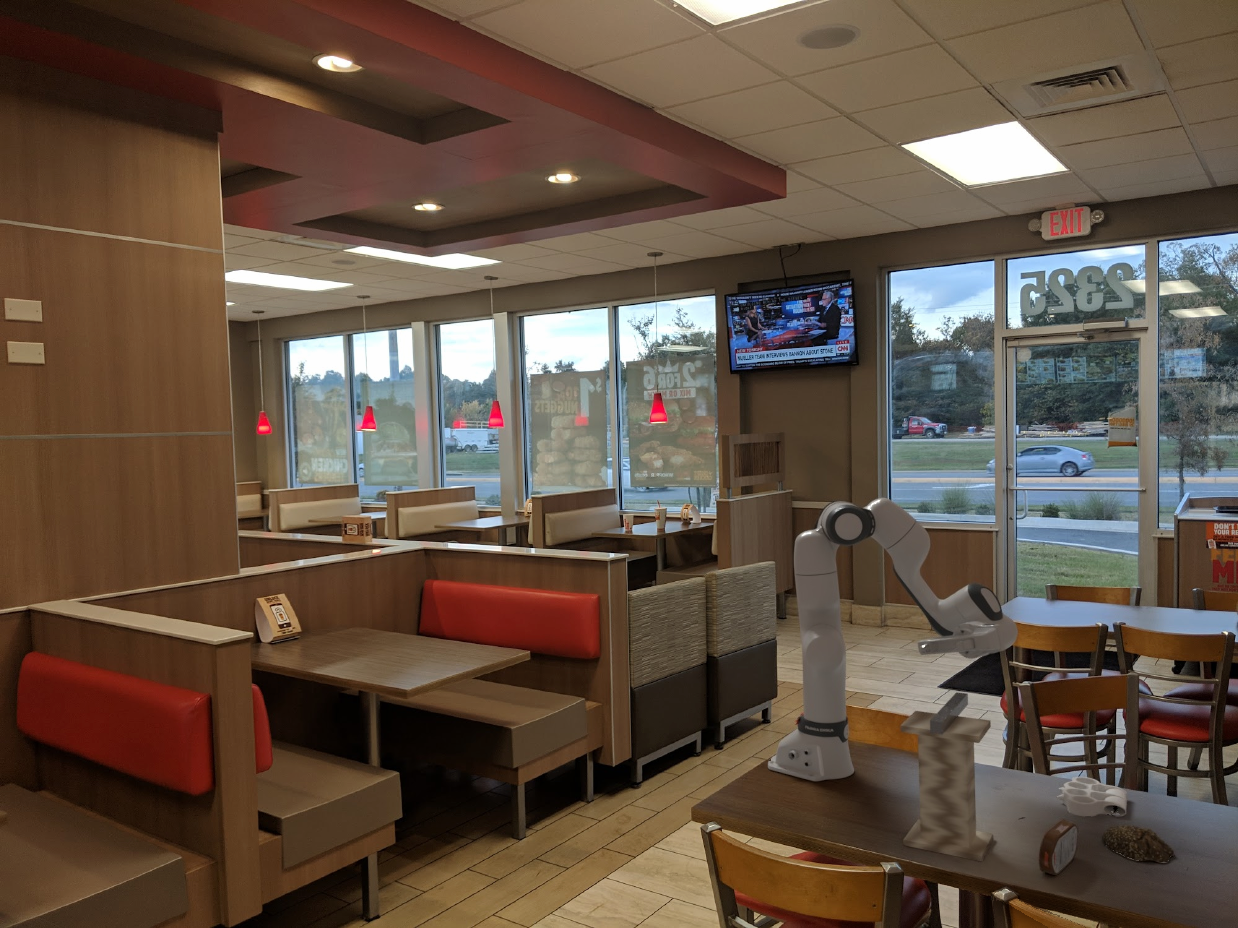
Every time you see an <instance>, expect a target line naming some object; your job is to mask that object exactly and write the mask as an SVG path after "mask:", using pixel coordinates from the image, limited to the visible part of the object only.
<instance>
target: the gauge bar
mask: <svg viewBox="0 0 1238 928" xmlns="http://www.w3.org/2000/svg"><path fill="white" fill-rule="evenodd" d="M968 705H969V694H968V693H964V692H955V693H954V694H953V695H952V696H951V698H950V699H948V701H947V702H946V703H945V704H944V705H943V706H942V707H941V708H940V709H939V710H938V712H936V713H937V714H936V715H935V716H934V717H933V718H932V719H931V720H930V733H936V734H943V733H944V732H945V731H946V730H947V729H948V727H949V726H950V725H951V724H952V723H953V722H954V720H955V719H956V718H957V717H958V716H960V714H961V713H962V712H963V711H964V710H965V708H967V706H968Z"/></svg>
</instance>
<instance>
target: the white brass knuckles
mask: <svg viewBox="0 0 1238 928" xmlns="http://www.w3.org/2000/svg"><path fill="white" fill-rule="evenodd" d="M1058 790H1059V791H1060V792H1062V793H1061V794H1060V795H1057V796H1056V798H1057V799H1059V800H1060V801H1062V803H1063V804H1064V806H1066V807H1067V812H1068V811H1069V813H1070V814H1072V815H1075V816H1079V817H1085V816H1091V817H1095V816H1098V815H1107V814H1109V816H1112V815H1111V814H1114V812H1113V813H1112V812H1111V811H1115V809H1113V808H1115V806H1117V807H1116V808H1118V809H1116V811H1117V810H1118V812H1117V813H1119V814H1120V815H1117V816H1116V817H1123V816H1125V815H1127V806H1128V805H1127V803H1128V792H1127V791H1126V790H1125V789H1122V788H1121V787H1118V786H1114V785H1111V784H1110V785H1109V784H1104V783H1102V782H1100V781H1098V780H1097V779H1094V778H1091V777H1086V776H1074V777H1071V781H1067V782H1065V783H1063V786H1062V787H1058ZM1113 806H1114V807H1113ZM1116 811H1115V813H1116Z"/></svg>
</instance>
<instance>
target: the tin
mask: <svg viewBox="0 0 1238 928" xmlns="http://www.w3.org/2000/svg"><path fill="white" fill-rule="evenodd" d="M1078 834H1079V827H1078V825H1077V824H1076V823H1074V822H1072V821H1069V820H1066V819H1063V818H1062V819H1060V820H1059V821H1057V822H1056V823H1055V824H1053V825H1052V826H1051V827H1050V828H1049V829H1047V830H1046V831H1045V833H1044V835H1043V837H1042V839H1041V843H1040V847H1039V851H1038V852H1039V853H1038V867H1039V869H1040V871H1041V872H1042V873H1047V874H1049V875H1052V876H1058V875H1059V874H1060V873H1061V872H1063V870H1064V869H1066V868H1067V867H1068V866H1069V865H1070V864H1071V863H1072V862H1073V861H1072V860H1074V859H1075V857H1076V854H1077V851H1078V836H1079V835H1078ZM1070 862H1071V863H1070ZM1069 863H1070V864H1069ZM1067 865H1068V866H1067ZM1066 866H1067V867H1066Z"/></svg>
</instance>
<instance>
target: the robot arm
mask: <svg viewBox="0 0 1238 928" xmlns="http://www.w3.org/2000/svg"><path fill="white" fill-rule="evenodd" d="M868 538H871V539H874V541H876V542H877V543H878V544H879V545H880V546H881V547H882V548H883V549H884V550H885V551H886V552H887V553H888V554H889V555H888V556H889V557H891V559H892V571H893V573H894V575H895V577H896V578H897V580H898V581H899V583H900V584H901V586H902V587H903V588H904V589H905V591H906V592H907V593H908V595H909V596H910V597H911V598H912V601H914V603H915V604H916V605H917V606H918V608H919V610H921V612H922V613H923V614H924V616H925V617H926V619H927V621H928V623H929V626H930V627H931V628H932V630H933V631H934V632H935V633H936V635H939V636H936V637H930V638H926V639H925V638H924V639H921V640H918V641H917V650H918V652H919V655H921V656H926V655H927V656H929V655H939V654H952V653H958V654H959V655H961V656H962V657H963V658H966V659H969V660H970V659H971V660H973V659H978V658H981V657H984V656H988V655H990V654H995V653H999V652H1004V651H1005V650H1007V649H1008V648H1010V647H1011V646H1012V645H1014V644H1015V642H1016V641H1017V638H1018V633H1019V632H1018V631H1019V630H1018V627H1017V624H1016V622H1015V621H1014V619H1012V618H1011V617H1010V616H1007V615H1006V614H1005V613H1004V612H1003V609H1002V606H1001V603H1000V601H999V599H998V596H997V595H996V594H995V593H994V591H993V590H992V589H990V588H989V587H987V586H985V585H983V584H982V583H976V582H971V583H969V584H967V585H965V586H963V587H962V588H960V589H959V590H957V591H956V592H954V593H953V594H951V595H949V596H948V597H947V598H945V599H942V598H941V599H940V598H938V597H937V596H936V594H935V593H934V592H933V590H932V589H931V588H930V586H929V585H928V584H927V583H926V580H925V579H924V578H923V576H922V575H921V572H920V571H921V567H922V565H924V562H925V561H926V560H927V556H928V554H929V552H930V550H931V549H930V548H931V539H930V535H929V533H928V531H927V530H926V528H925V527H924V526H923V525H922V524H921V523H920V522H919V521H917V520H916V519H915V518H914V517H913V516H912V515H911V514H910V513H909V512H908V511H906V510H905V509H904V508H902V507H901V506H900V505H898V504H897V503H895V502H894V501H892V499H889V498H887V497H877V498H876V499H873V500H871V501H870V502H869V503H868V504H867V505H866V506H864V507H860V506H857V505H855V504H854V503H852V502H850V501H844V500H835V501H832V502H829V503H828V504H826V505H825V506H824V507H823V508H822V510H821V511H820V514H819V515H818V517H817V520H816V522H815V525H814V527H813V529H808V530H805V531H803V532H801V533H800V534H799V535H797V536H796V538H795V541H794V550H793V568H794V569H793V570H794V583H795V590H796V603H797V611H798V622H799V629H800V630H799V631H800V642H801V651H802V653H801V654H802V658H801V659H802V660H801V661H802V696H803V697H802V699H803V700H802V703H803V705H802V706H803V711H802V712H801V713H800V714H799V715H800V716H798V717H797V718H796V720H795V721H794V722H795V724H794V725H795V726H796V725H797V728H796V729H794V730H793V731H791V732H790V733H789V734H787V735H786V736H785V737H784V738H782V739H781V740H780V741H779V743H778V745H777V749H776V753H775V755H773V756H772V757H771V758H770V759H771V761H769V760H768V762H767V768H768V770H770V771H774V772H777V773H778V772H779V773H781V774H784V775H785V774H786V775H790V776H793V777H796V778H801V779H805V780H808V781H811V782H821V781H825V780H837V779H838V780H839V779H843V778H847V777H849V776H850V777H851V775H853V774H854V772H855V768H854V765H853V763H852V762H853V761H852V759H851V753H850V748H849V741H848V740H849V736H850V728H849V727H850V725H849V718H848V716H847V702H846V699H847V698H846V697H847V696H846V695H847V694H846V690H847V689H846V687H847V686H846V680H847V678H846V677H847V675H846V674H847V673H846V672H847V669H846V668H847V651H846V650H847V648H846V643H845V641H844V637H843V636H844V635H843V628H842V627H843V626H842V615H841V612H842V611H841V598H840V589H839V588H840V586H839V577H838V576H839V575H838V568H837V567H838V566H837V560H836V559H837V551H838V548H839V547H840V546H844V547H849V546H854V545H857V544H860V543H861V542H862V541H864V540H866V539H868Z"/></svg>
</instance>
